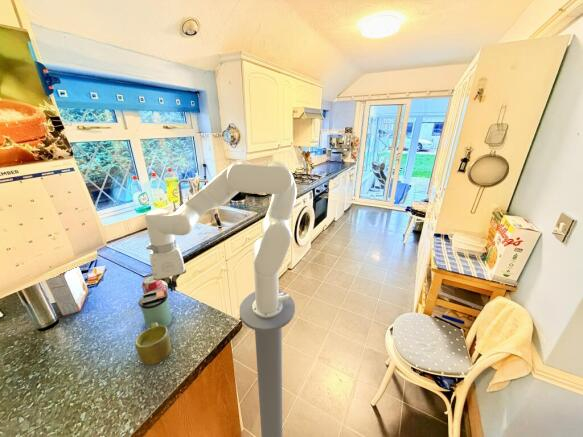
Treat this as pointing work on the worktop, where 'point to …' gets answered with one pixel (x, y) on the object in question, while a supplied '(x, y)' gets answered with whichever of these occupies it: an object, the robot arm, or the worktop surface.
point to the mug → (153, 344)
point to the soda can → (151, 284)
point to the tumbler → (155, 309)
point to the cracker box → (68, 291)
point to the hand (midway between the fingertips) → (173, 288)
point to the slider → (161, 293)
